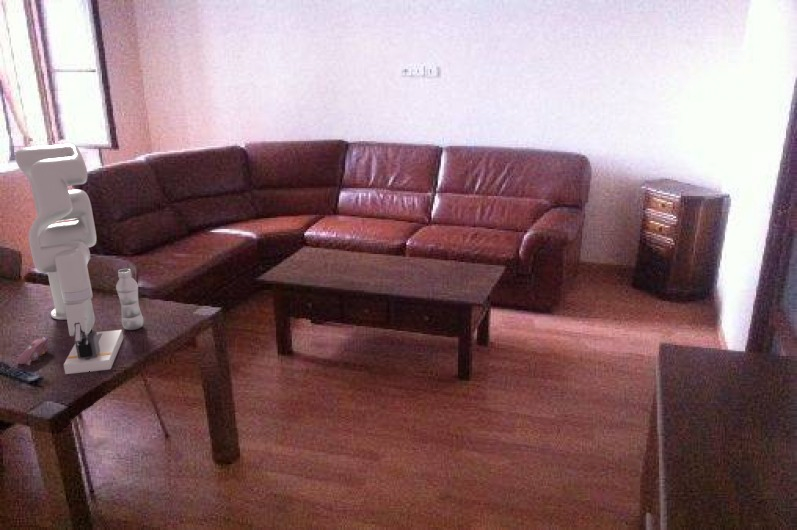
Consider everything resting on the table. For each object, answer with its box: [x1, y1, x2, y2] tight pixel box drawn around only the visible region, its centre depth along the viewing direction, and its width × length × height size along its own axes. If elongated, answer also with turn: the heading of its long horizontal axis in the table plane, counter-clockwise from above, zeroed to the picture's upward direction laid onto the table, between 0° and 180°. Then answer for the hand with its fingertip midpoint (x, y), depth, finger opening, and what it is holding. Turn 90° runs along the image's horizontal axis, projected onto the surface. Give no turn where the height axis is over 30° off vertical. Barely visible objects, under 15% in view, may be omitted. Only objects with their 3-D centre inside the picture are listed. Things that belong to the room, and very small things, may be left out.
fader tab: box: [74, 331, 100, 359], centre depth 184 cm, size 4×5×6 cm
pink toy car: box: [16, 336, 53, 365], centre depth 190 cm, size 10×5×7 cm, turn 170°
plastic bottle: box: [115, 268, 144, 331], centre depth 205 cm, size 6×7×20 cm
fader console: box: [63, 329, 124, 375], centre depth 191 cm, size 20×12×3 cm, turn 12°
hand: (88, 351), depth 185 cm, fingers open, 4 cm apart
